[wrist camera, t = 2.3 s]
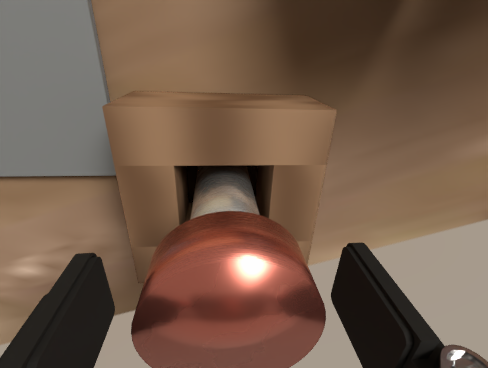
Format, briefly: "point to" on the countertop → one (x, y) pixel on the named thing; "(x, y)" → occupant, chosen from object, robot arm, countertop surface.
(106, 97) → the rubber mat
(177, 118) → the eye block
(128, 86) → the countertop surface
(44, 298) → the robot arm
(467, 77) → the countertop surface
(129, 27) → the countertop surface
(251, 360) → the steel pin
